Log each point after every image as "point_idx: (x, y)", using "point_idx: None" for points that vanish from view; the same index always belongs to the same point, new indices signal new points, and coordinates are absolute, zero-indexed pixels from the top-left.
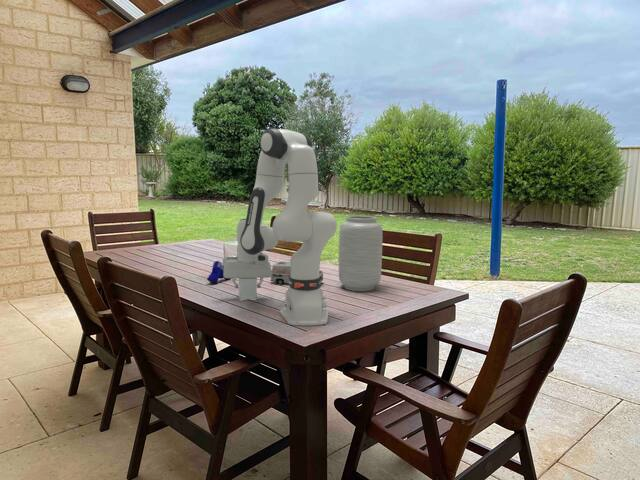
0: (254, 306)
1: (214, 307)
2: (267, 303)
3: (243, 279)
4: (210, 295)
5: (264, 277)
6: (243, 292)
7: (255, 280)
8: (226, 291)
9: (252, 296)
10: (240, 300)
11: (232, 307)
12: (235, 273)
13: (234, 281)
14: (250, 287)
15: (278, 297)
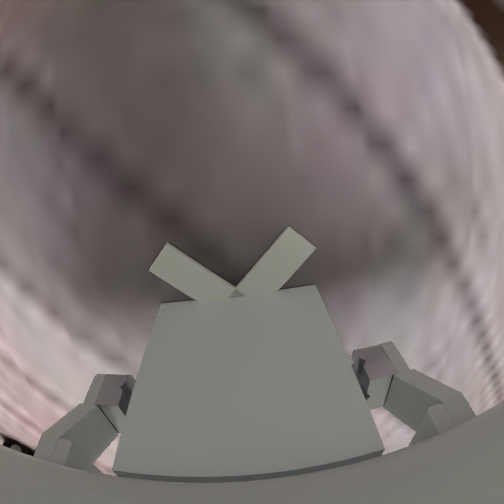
0: (129, 48)
1: (465, 46)
2: (40, 166)
3: (311, 455)
4: (474, 335)
5: (9, 449)
6: (284, 327)
7: (130, 448)
8: (386, 413)
9: (193, 311)
10: (298, 234)
11: (339, 12)
12: (479, 487)
13: (428, 397)
14: (205, 374)
15: (34, 330)
